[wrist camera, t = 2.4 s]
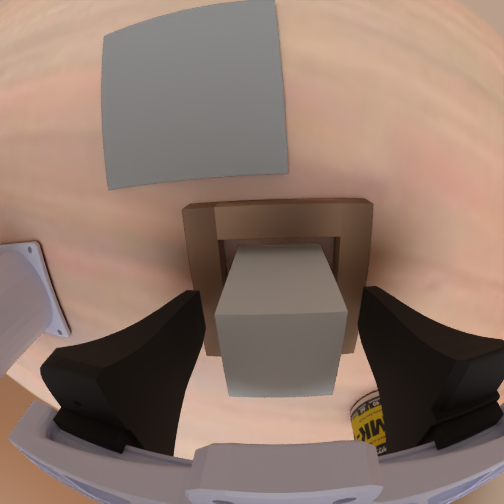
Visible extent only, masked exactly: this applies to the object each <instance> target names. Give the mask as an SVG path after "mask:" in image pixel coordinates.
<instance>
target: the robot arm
mask: <svg viewBox="0 0 504 504" xmlns="http://www.w3.org/2000/svg"><path fill="white" fill-rule="evenodd" d="M357 326H358V330H359V335H360V339H361V343H362V346H363V348H364V351H365V354H366V356H367V359H368V362H369V364H370V367H371V370H372V372H373V375H374V378H375V381H376V384H377V387H378V392H379V397H380V402H381V407H382V413H383V420H384V428H385V438H386V455H382V456H378V455H377V450H376V446H374V445H371V444H368V443H366V442H363V441H361V440H353V441H333V442H323V443H309V444H281V445H269V444H241V443H214V444H210V445H208V446H205V447H202V448H200V449H197V450H196V451H195V455H194V459H193V460H189V459H183V458H178V457H173V456H174V447H175V440H176V434H177V428H178V422H179V417H180V412H181V408H182V403H183V399H184V395H185V391H186V388H187V385H188V382H189V379H190V377H191V374H192V371H193V369H194V366H195V364H196V361H197V358H198V356H199V353H200V350H201V348H202V344H203V340H204V336H205V331H206V324H205V319H204V313H203V308H202V302H201V296H200V291H192V290H187V291H185V292H183V293H181V294H180V295H178V296H177V297H175V298H174V299H173V300H171V301H170V302H168V303H167V304H165V305H164V306H163V307H161V308H160V309H158V310H157V311H155V312H153V313H152V314H150V315H149V316H147V317H146V318H144V319H142V320H141V321H139V322H137V323H135V324H133V325H131V326H129V327H127V328H125V329H123V330H121V331H119V332H116V333H114V334H111V335H109V336H106V337H103V338H100V339H97V340H94V341H90V342H87V343H83V344H78V345H73V346H67V347H62V348H56V349H55V350H54V352H53V353H52V354H51V355H50V356H49V357H48V359H47V360H46V361H45V362H44V363H43V364H42V366H41V367H40V372H41V376H42V379H43V381H44V383H45V384H46V386H47V388H48V389H49V391H50V392H51V393H52V395H53V396H54V398H55V399H56V400H57V402H58V403H59V405H60V406H61V408H60V410H59V411H58V412H57V411H56V410H55V409H54V408H52V407H50V406H48V405H46V404H44V403H42V402H40V401H38V400H34V401H33V402H32V404H31V405H30V406H29V408H28V409H27V411H26V412H25V413H24V415H23V416H22V418H21V419H20V421H19V422H18V423H17V425H16V426H15V428H14V429H13V431H12V432H11V434H10V435H9V437H8V439H9V441H10V442H11V443H12V444H13V445H14V446H16V448H17V449H19V450H20V451H21V452H22V453H23V454H24V455H25V456H26V457H27V458H29V459H30V460H31V461H32V462H33V463H34V464H36V465H37V466H38V467H39V468H40V469H41V470H43V471H44V472H45V473H47V474H49V475H50V476H52V477H53V478H55V479H57V480H58V481H60V482H62V483H63V484H65V485H67V486H68V487H70V488H72V489H74V490H75V491H77V492H79V493H81V494H83V495H85V496H87V497H88V498H90V499H92V500H94V501H96V502H99V503H101V504H449V503H451V502H453V501H455V500H457V499H458V498H461V497H463V496H464V495H466V494H468V493H470V492H472V491H473V490H475V489H477V488H479V487H480V486H482V485H484V484H485V483H487V482H488V481H490V480H492V479H493V478H495V477H496V476H498V475H499V474H501V473H502V472H504V403H503V404H502V405H501V406H499V404H498V402H497V400H498V399H499V398H500V395H499V393H498V391H497V389H498V388H499V386H500V385H501V383H502V381H503V380H504V340H502V339H494V338H487V337H481V336H477V335H473V334H469V333H465V332H462V331H459V330H456V329H453V328H450V327H447V326H445V325H443V324H440V323H438V322H436V321H434V320H432V319H430V318H428V317H426V316H424V315H422V314H420V313H419V312H417V311H415V310H413V309H412V308H410V307H409V306H407V305H405V304H404V303H402V302H401V301H399V300H398V299H396V298H395V297H393V296H392V295H390V294H389V293H387V292H385V291H384V290H382V289H381V288H379V287H377V286H370V287H363V293H362V299H361V306H360V312H359V318H358V324H357ZM43 332H44V333H48V334H52V335H56V336H60V337H64V338H68V337H69V336H70V330H69V328H68V326H67V324H66V321H65V319H64V316H63V314H62V311H61V309H60V306H59V304H58V301H57V298H56V296H55V293H54V290H53V287H52V284H51V281H50V278H49V275H48V272H47V269H46V266H45V262H44V259H43V255H42V252H41V248H40V245H39V244H38V243H37V242H36V241H32V242H22V243H13V244H3V245H0V379H1V378H2V376H3V375H4V374H5V373H6V372H7V371H8V369H9V368H10V367H11V366H12V365H13V364H14V363H15V362H16V361H17V359H18V358H19V357H20V356H21V355H22V354H23V353H24V352H25V351H26V350H27V349H28V348H29V346H30V345H31V344H32V343H33V342H34V341H35V340H36V339H37V338H38V337H39V336H40V335H41V334H42V333H43Z"/></svg>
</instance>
